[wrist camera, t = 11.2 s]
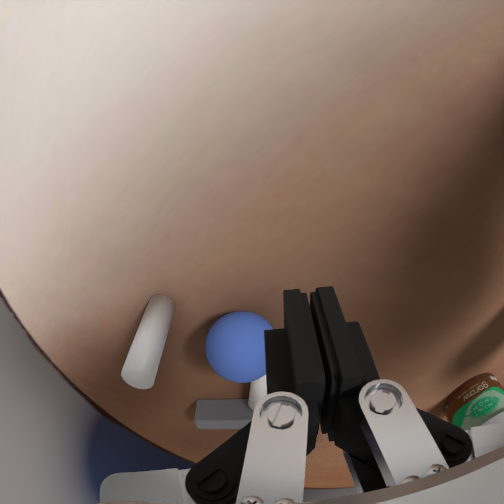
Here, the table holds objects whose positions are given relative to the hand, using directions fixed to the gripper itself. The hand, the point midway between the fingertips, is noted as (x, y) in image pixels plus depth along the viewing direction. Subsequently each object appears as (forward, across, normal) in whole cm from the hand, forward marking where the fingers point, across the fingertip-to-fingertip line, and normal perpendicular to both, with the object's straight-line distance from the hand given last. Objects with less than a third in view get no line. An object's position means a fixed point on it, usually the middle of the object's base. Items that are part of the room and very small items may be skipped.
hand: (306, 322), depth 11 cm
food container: (+14, -27, +29) cm, 42 cm away
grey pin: (+13, +10, +9) cm, 19 cm away
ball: (+10, +4, +12) cm, 16 cm away
